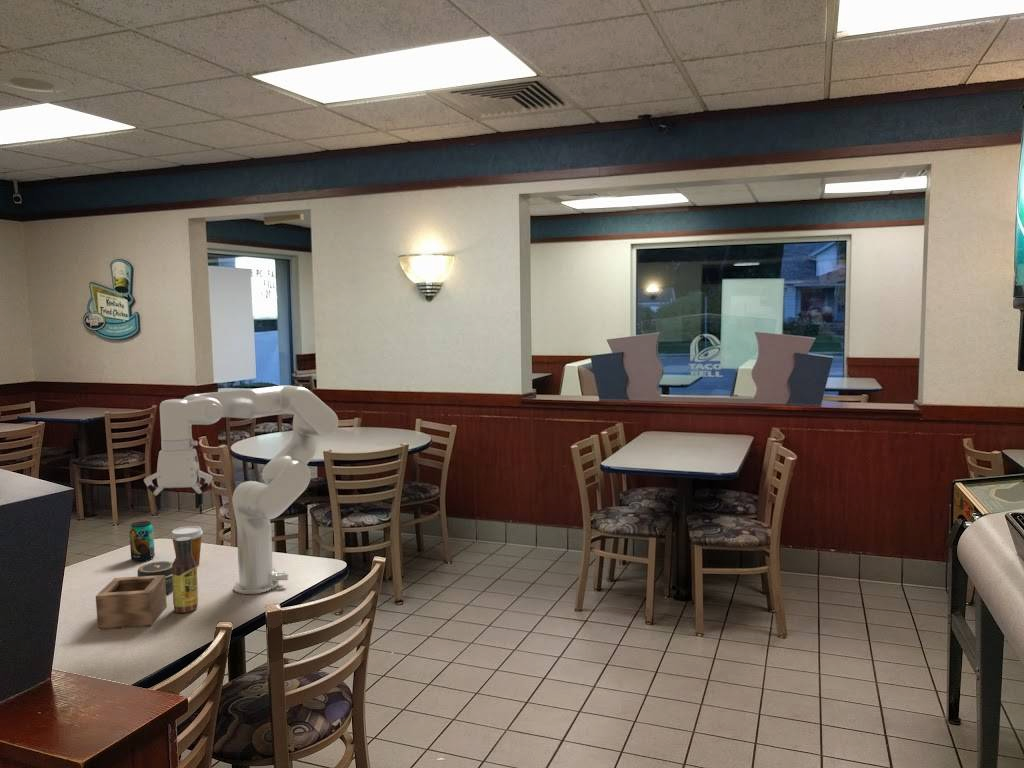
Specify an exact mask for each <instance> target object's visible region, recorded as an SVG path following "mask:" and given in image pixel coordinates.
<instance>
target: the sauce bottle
mask: <svg viewBox="0 0 1024 768" xmlns="http://www.w3.org/2000/svg"><path fill="white" fill-rule="evenodd" d="M191 543H192V538H191V537H181V538H177V539H176V546H177V553H176V554H177V557H176V556H175V558H174V560H173V561H172V563H173V565H172V568H173V573H172V580H173V591H172V604H173V610H174V612H175V613H180V614H185V613H189V612H193V611H195V610H196V609H198V604H199V590H198V589H199V588H198V586H199V585H198V567H197V565H196V563H195V560H194V558H193V555H192V551H191Z"/></svg>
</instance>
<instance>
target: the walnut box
mask: <svg viewBox="0 0 1024 768" xmlns="http://www.w3.org/2000/svg"><path fill="white" fill-rule="evenodd" d="M167 603H168V602H167V594H166V584H165V575H156V576H139V577H138V576H127V577H125V576H124V577H114V578H112V580H111V581H110V582H109V583H108V584H107V585H106V586H105V587H104V588H102V590H100V591H99V592H98V593H97V594H96V595H95V607H96V620H97V630H98V629H101V630H112V629H111V628H116V629H123V628H122V627H131V628H141V627H140V626H146V627H152V626H153V625H154V623H156V621H157V620H158V618H159V617H160V616H161V614H163V612H164V611H165V610H166V608H167V606H168V605H167ZM156 619H157V620H156ZM152 624H153V625H152Z"/></svg>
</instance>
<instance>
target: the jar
mask: <svg viewBox="0 0 1024 768" xmlns="http://www.w3.org/2000/svg"><path fill="white" fill-rule="evenodd" d="M172 565H173V561H172V562H171V561H168V560H165V561H164V560H161V561H153V562H149V563H145V564H143V565H141V566H140V567H138V568H137V577H139V576H156V575H165V584H166V595H168V593H169V594H170V592H171V593H173V580H172V573H173V568H172Z"/></svg>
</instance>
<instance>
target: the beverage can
mask: <svg viewBox="0 0 1024 768" xmlns="http://www.w3.org/2000/svg"><path fill="white" fill-rule="evenodd" d="M130 526H131V527H130V528H129V530H128V532H129V547H130V548H129V549H130V559H131V560H132V561H133V562H135V561H144V562H147V561H146V560H148V561H150V560H149V559H151V558H152V559H153V558H155V555H156V554H155V538H154V537H155V536H154V526H153V525H152V524H151V521H144V520H143V521H136V522H133V523H132V524H131V525H130ZM152 559H151V560H152Z"/></svg>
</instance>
